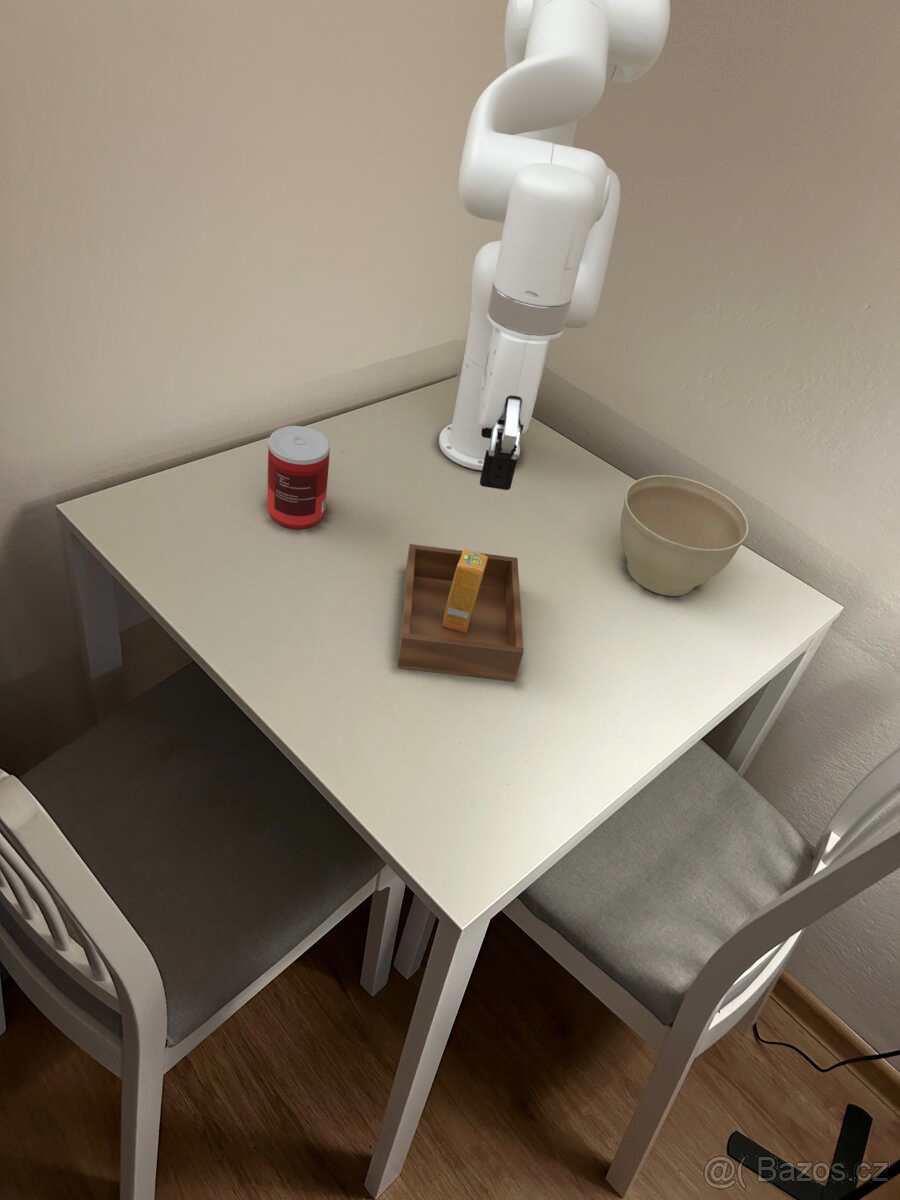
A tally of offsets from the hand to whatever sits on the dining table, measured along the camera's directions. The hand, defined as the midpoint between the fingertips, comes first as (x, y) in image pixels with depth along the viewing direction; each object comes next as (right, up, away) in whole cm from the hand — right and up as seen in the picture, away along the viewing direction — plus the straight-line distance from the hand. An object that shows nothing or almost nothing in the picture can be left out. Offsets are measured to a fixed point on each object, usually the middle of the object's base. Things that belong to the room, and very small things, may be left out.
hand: (494, 461), depth 96 cm
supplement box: (-4, -18, +12) cm, 22 cm away
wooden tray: (-4, -18, +13) cm, 22 cm away
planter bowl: (+24, -11, +26) cm, 37 cm away
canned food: (-25, -3, +24) cm, 35 cm away
